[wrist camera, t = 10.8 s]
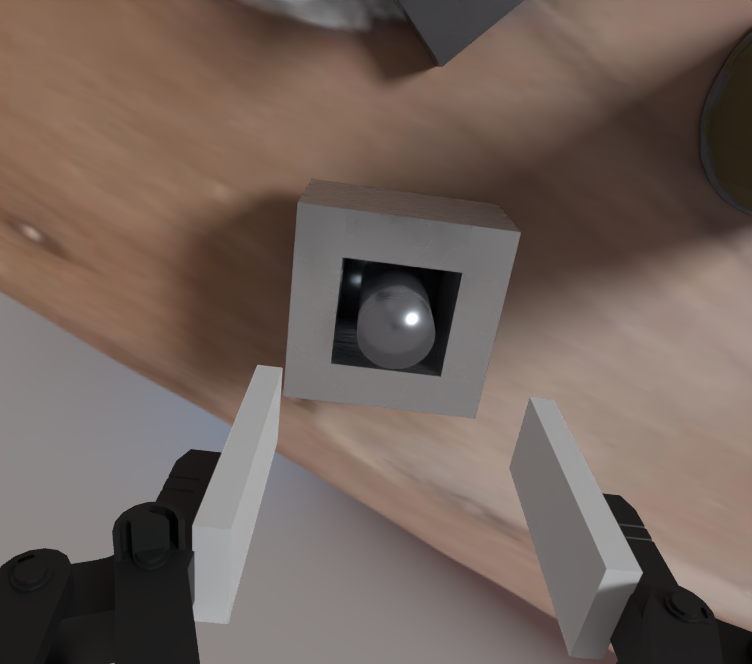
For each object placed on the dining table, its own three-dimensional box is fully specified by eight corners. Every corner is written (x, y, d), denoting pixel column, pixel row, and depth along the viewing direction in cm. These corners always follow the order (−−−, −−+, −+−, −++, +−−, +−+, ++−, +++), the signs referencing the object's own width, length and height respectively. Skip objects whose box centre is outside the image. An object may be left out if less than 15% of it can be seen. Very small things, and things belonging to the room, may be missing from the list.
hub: (288, 250, 31) (256, 317, 23) (407, 158, 29) (418, 196, 21) (378, 354, 34) (377, 446, 26) (492, 277, 32) (531, 351, 24)
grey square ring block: (311, 179, 27) (297, 202, 22) (497, 204, 27) (521, 232, 23) (297, 347, 31) (283, 396, 26) (461, 367, 31) (475, 418, 27)
